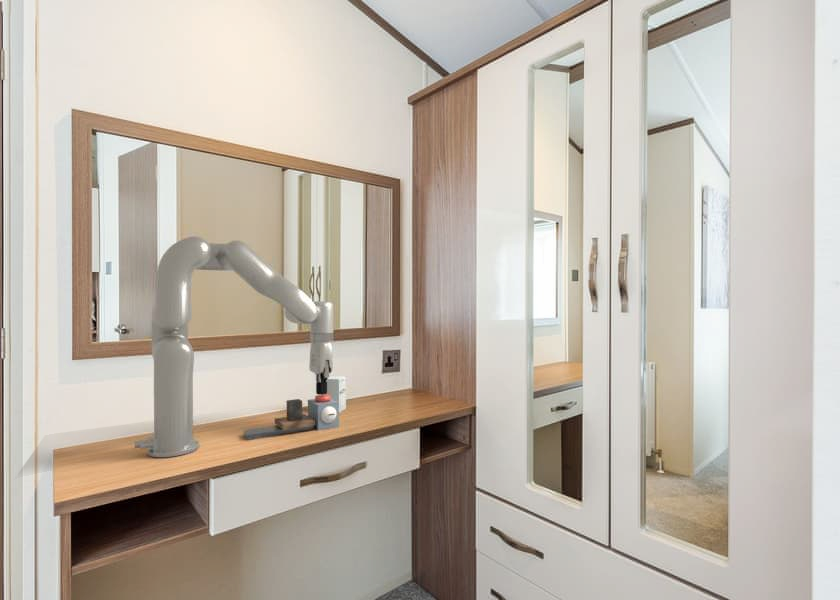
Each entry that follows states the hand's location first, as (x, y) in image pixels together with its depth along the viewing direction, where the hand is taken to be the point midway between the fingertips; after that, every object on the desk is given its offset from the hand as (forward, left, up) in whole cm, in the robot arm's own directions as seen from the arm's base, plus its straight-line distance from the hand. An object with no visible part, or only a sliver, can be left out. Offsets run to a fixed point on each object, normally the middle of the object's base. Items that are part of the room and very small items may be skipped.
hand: (321, 393), depth 148 cm
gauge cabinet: (0, 0, -11) cm, 11 cm away
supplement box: (+11, +17, -11) cm, 23 cm away
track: (-14, 0, -11) cm, 18 cm away
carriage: (-9, 0, -9) cm, 13 cm away
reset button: (0, 0, -2) cm, 2 cm away
